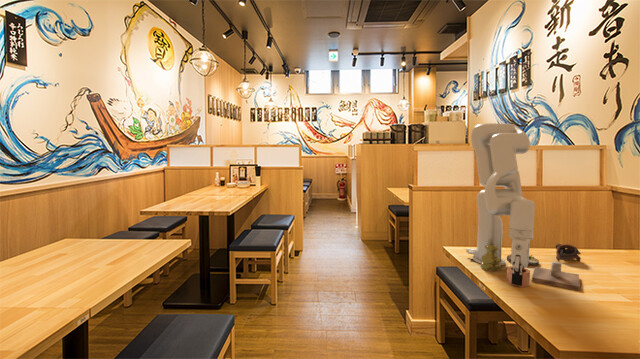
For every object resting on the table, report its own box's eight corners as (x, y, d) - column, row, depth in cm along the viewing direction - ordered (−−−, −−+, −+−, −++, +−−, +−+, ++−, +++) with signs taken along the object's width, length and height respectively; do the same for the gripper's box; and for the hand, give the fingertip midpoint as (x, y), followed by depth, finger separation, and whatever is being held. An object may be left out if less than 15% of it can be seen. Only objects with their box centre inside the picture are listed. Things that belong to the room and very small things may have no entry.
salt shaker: (503, 272, 133) (505, 248, 131) (483, 271, 134) (484, 247, 133) (497, 265, 140) (499, 242, 138) (478, 263, 141) (479, 241, 140)
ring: (505, 283, 121) (506, 270, 120) (508, 277, 127) (508, 265, 126) (528, 288, 117) (529, 274, 116) (529, 282, 122) (530, 269, 122)
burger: (544, 264, 142) (546, 247, 141) (527, 269, 137) (528, 251, 136) (517, 256, 153) (518, 240, 152) (500, 260, 148) (501, 243, 147)
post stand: (531, 281, 123) (532, 264, 123) (534, 270, 135) (535, 254, 134) (579, 290, 115) (581, 272, 115) (578, 278, 126) (579, 261, 126)
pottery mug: (588, 264, 143) (585, 250, 140) (567, 274, 144) (564, 259, 141) (565, 249, 154) (562, 235, 151) (546, 258, 155) (543, 244, 152)
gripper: (531, 240, 111) (527, 292, 112) (534, 230, 125) (531, 276, 126) (505, 236, 115) (502, 286, 117) (511, 227, 129) (509, 272, 131)
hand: (517, 280), depth 122 cm, fingers closed on ring, 7 cm apart
